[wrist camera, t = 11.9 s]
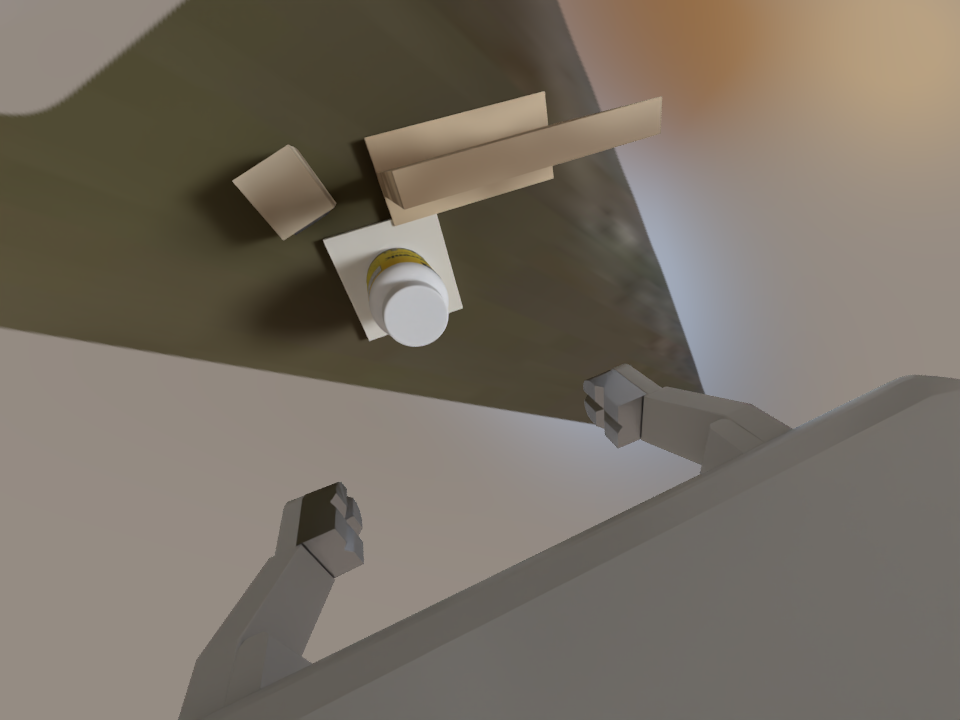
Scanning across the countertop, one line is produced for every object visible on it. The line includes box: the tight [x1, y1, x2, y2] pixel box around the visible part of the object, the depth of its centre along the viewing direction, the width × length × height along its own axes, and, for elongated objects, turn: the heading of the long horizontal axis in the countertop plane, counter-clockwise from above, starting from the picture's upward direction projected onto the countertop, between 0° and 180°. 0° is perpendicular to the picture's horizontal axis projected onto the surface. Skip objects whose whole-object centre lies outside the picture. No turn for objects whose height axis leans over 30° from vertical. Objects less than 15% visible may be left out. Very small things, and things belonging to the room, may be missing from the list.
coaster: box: [323, 214, 463, 341], centre depth 30 cm, size 9×9×1 cm
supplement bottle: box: [366, 247, 449, 347], centre depth 25 cm, size 5×5×10 cm
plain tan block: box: [233, 145, 337, 240], centre depth 23 cm, size 4×4×4 cm
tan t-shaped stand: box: [364, 91, 662, 226], centre depth 22 cm, size 6×14×13 cm, turn 103°
